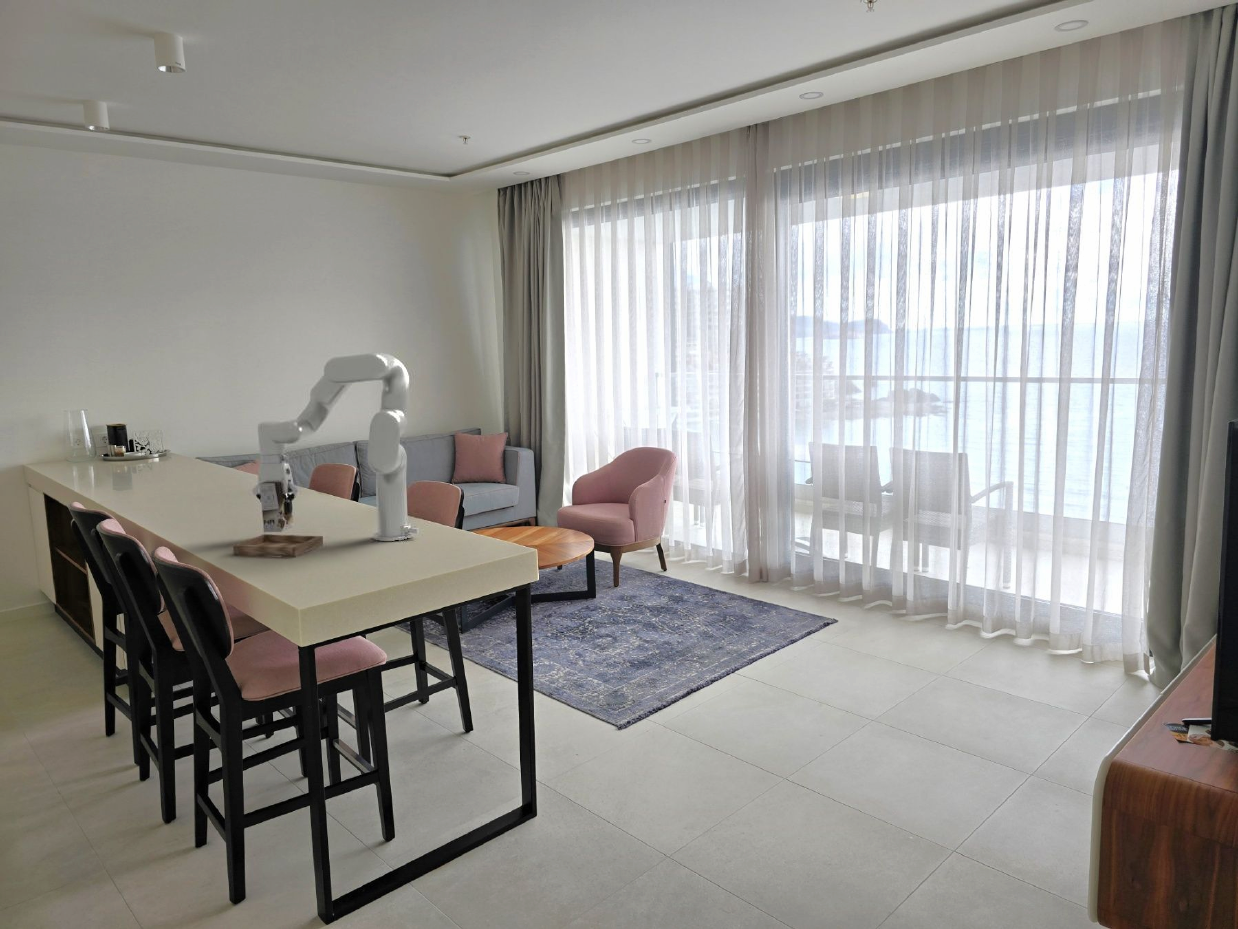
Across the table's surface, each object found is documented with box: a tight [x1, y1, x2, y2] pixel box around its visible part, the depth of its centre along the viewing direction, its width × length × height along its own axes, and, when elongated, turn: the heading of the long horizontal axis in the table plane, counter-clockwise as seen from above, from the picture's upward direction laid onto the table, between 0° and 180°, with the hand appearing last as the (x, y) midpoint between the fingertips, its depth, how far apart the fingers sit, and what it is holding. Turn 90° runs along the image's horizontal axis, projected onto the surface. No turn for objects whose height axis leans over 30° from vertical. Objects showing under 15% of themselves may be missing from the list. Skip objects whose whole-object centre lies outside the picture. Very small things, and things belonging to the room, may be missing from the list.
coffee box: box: [260, 482, 295, 533], centre depth 265 cm, size 9×6×16 cm
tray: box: [232, 533, 324, 558], centre depth 250 cm, size 20×16×3 cm
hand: (277, 513), depth 265 cm, fingers closed on coffee box, 6 cm apart
